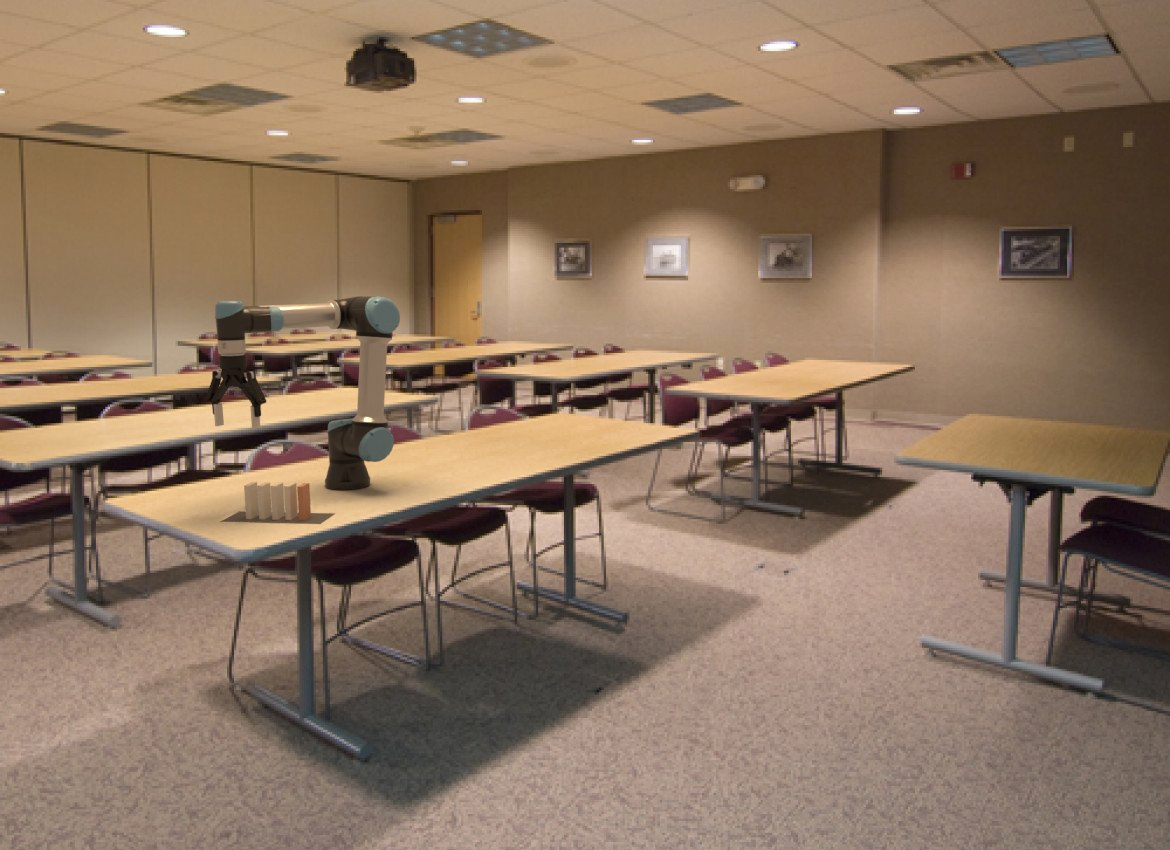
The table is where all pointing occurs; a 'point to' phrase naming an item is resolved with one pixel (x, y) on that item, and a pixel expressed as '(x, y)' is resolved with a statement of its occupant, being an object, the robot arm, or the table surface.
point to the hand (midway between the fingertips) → (237, 426)
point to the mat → (313, 519)
